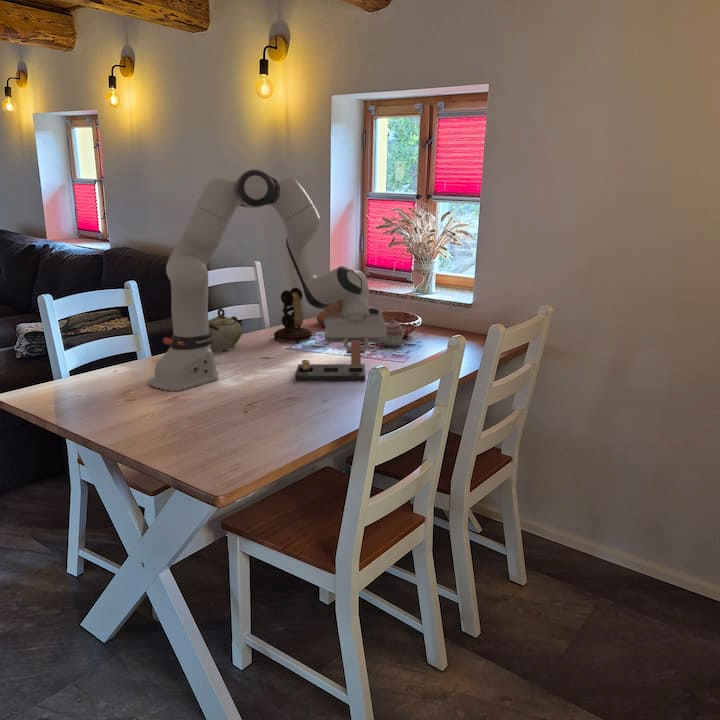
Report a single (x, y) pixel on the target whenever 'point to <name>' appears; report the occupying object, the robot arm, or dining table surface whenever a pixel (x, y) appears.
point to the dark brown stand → (292, 317)
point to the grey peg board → (329, 372)
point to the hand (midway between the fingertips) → (355, 352)
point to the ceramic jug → (331, 311)
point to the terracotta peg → (355, 353)
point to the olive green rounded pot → (224, 331)
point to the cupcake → (394, 334)
